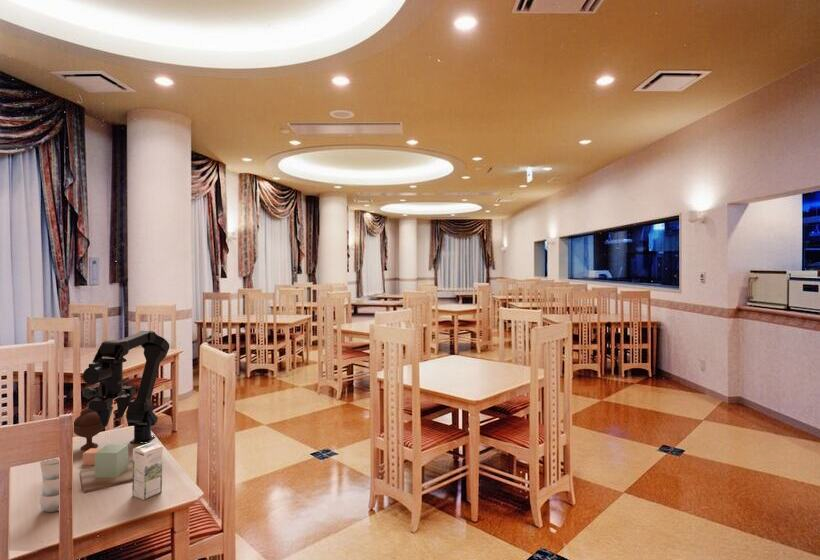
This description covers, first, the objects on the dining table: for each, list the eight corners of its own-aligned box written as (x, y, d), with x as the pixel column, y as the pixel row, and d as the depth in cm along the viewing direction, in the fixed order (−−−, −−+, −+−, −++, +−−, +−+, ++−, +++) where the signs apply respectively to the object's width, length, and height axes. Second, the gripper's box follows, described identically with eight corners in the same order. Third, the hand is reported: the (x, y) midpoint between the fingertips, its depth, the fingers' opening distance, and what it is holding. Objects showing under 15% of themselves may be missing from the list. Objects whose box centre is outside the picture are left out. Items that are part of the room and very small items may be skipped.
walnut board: (80, 472, 150) (80, 470, 150) (136, 460, 160) (136, 458, 160) (83, 492, 138) (83, 490, 138) (144, 478, 148) (144, 475, 148)
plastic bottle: (58, 515, 126) (57, 443, 125) (33, 514, 126) (33, 442, 125) (75, 503, 132) (75, 434, 131) (52, 502, 132) (52, 433, 131)
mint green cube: (107, 468, 152) (107, 444, 152) (128, 468, 153) (128, 444, 152) (94, 477, 146) (94, 452, 145) (116, 477, 146) (116, 452, 146)
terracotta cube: (90, 459, 160) (90, 448, 160) (102, 459, 160) (102, 448, 160) (83, 464, 156) (82, 453, 156) (95, 464, 156) (95, 453, 156)
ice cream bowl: (64, 449, 167) (64, 409, 167) (97, 439, 177) (97, 401, 177) (80, 456, 162) (80, 414, 162) (113, 445, 172) (113, 405, 172)
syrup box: (150, 487, 142) (150, 441, 141) (162, 492, 139) (162, 445, 139) (132, 495, 137) (132, 447, 136) (144, 501, 134) (144, 452, 134)
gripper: (105, 370, 169) (105, 412, 170) (70, 384, 151) (70, 431, 151) (136, 370, 170) (136, 412, 171) (106, 384, 151) (106, 431, 152)
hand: (113, 421), depth 161 cm, fingers open, 9 cm apart
